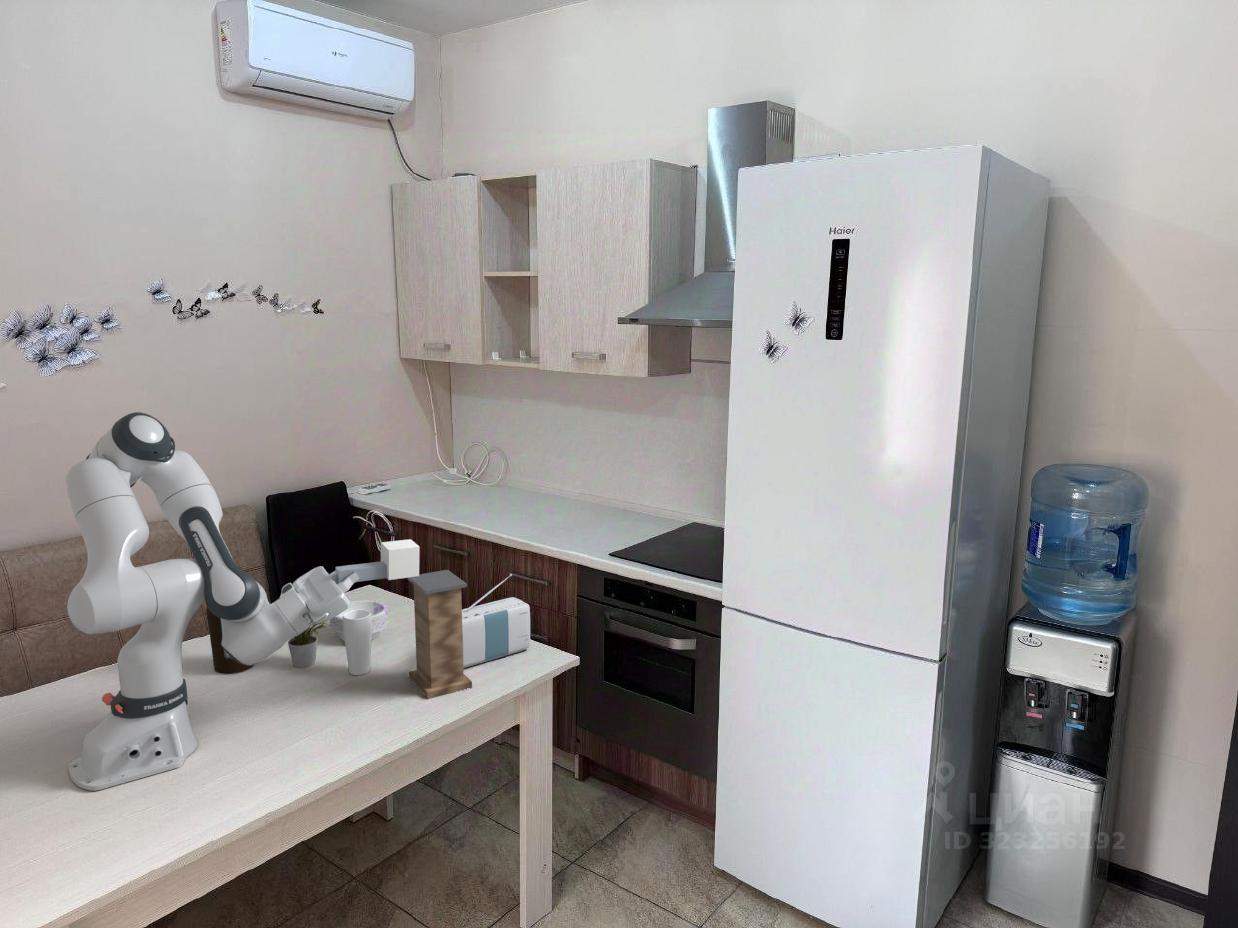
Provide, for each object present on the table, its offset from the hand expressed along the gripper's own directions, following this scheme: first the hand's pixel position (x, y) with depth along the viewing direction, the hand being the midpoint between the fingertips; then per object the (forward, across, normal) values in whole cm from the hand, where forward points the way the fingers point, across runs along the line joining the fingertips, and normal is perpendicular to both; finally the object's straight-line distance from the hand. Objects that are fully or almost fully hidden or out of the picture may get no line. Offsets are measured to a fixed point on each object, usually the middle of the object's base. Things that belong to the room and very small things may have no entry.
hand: (354, 571), depth 187 cm
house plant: (-22, +26, +25) cm, 42 cm away
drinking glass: (-12, +15, +30) cm, 36 cm away
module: (+3, 0, +4) cm, 5 cm away
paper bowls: (-7, +38, +34) cm, 51 cm away
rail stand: (+1, -1, +37) cm, 37 cm away
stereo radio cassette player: (+15, +7, +45) cm, 48 cm away
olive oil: (-35, +34, +18) cm, 52 cm away
